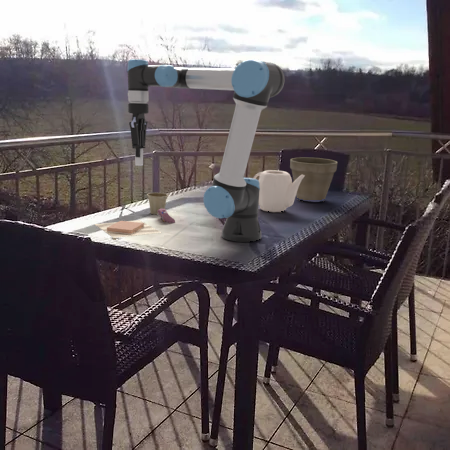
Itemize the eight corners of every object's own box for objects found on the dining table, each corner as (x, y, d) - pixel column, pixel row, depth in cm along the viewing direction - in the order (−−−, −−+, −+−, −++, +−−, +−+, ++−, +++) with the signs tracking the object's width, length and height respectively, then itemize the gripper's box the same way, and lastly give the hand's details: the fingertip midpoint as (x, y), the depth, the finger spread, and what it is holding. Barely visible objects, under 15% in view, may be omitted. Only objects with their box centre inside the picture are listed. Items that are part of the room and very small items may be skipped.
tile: (143, 223, 201) (131, 230, 189) (143, 226, 201) (131, 234, 190) (120, 220, 203) (106, 227, 192) (120, 224, 203) (106, 231, 192)
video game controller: (161, 223, 218) (153, 209, 216) (170, 218, 219) (163, 204, 217) (167, 228, 210) (159, 214, 207) (176, 223, 210) (169, 208, 208)
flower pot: (164, 216, 224) (164, 197, 221) (143, 214, 225) (143, 195, 223) (170, 212, 233) (170, 193, 230) (151, 210, 234) (151, 192, 232)
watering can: (296, 217, 232) (299, 176, 228) (243, 209, 244) (245, 170, 240) (307, 211, 246) (310, 172, 241) (256, 204, 258) (259, 167, 253)
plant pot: (323, 207, 259) (327, 164, 254) (279, 200, 271) (282, 159, 266) (340, 200, 280) (344, 160, 274) (298, 194, 292) (301, 156, 287)
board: (161, 234, 194) (161, 232, 194) (113, 240, 184) (113, 237, 184) (139, 221, 212) (139, 220, 212) (94, 226, 202) (94, 224, 202)
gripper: (135, 102, 198) (136, 163, 204) (122, 102, 186) (123, 166, 191) (153, 103, 197) (154, 164, 202) (141, 102, 184) (142, 167, 190)
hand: (139, 165), depth 197 cm, fingers closed
